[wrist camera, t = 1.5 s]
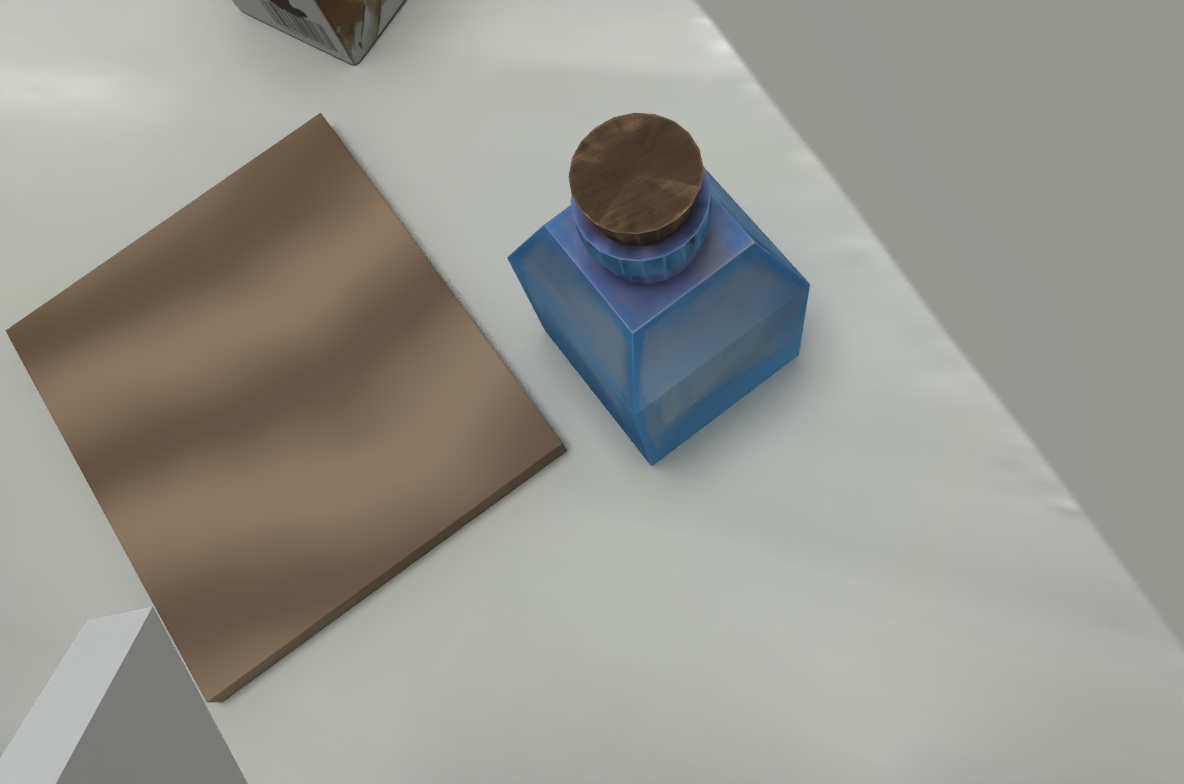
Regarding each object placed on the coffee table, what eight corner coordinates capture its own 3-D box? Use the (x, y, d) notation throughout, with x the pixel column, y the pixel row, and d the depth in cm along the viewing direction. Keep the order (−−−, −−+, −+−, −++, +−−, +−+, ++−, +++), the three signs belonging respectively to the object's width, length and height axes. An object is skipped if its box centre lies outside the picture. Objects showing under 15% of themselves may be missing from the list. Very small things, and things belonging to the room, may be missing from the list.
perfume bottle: (685, 225, 37) (660, 12, 26) (798, 355, 35) (825, 186, 24) (544, 329, 37) (456, 159, 25) (651, 466, 35) (608, 348, 23)
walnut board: (23, 339, 39) (5, 330, 38) (330, 126, 40) (320, 112, 39) (221, 702, 34) (206, 701, 33) (567, 450, 35) (562, 443, 34)
